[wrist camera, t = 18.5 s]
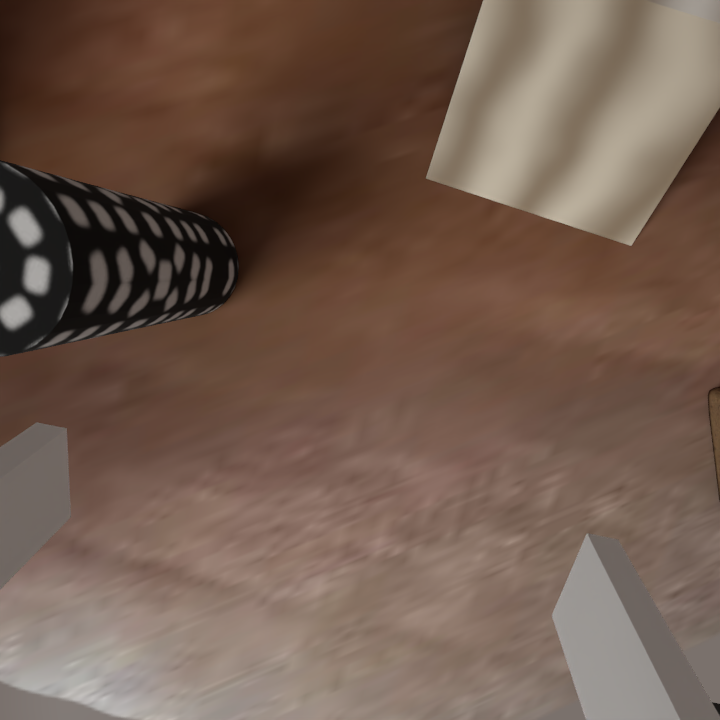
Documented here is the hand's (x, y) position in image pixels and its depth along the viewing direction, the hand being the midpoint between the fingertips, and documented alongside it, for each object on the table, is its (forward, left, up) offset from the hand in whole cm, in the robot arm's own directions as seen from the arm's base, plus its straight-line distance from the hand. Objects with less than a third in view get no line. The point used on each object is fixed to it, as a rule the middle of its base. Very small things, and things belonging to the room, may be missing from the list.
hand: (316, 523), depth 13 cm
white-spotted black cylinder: (-17, +1, -28) cm, 33 cm away
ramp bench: (+7, +24, -30) cm, 39 cm away
